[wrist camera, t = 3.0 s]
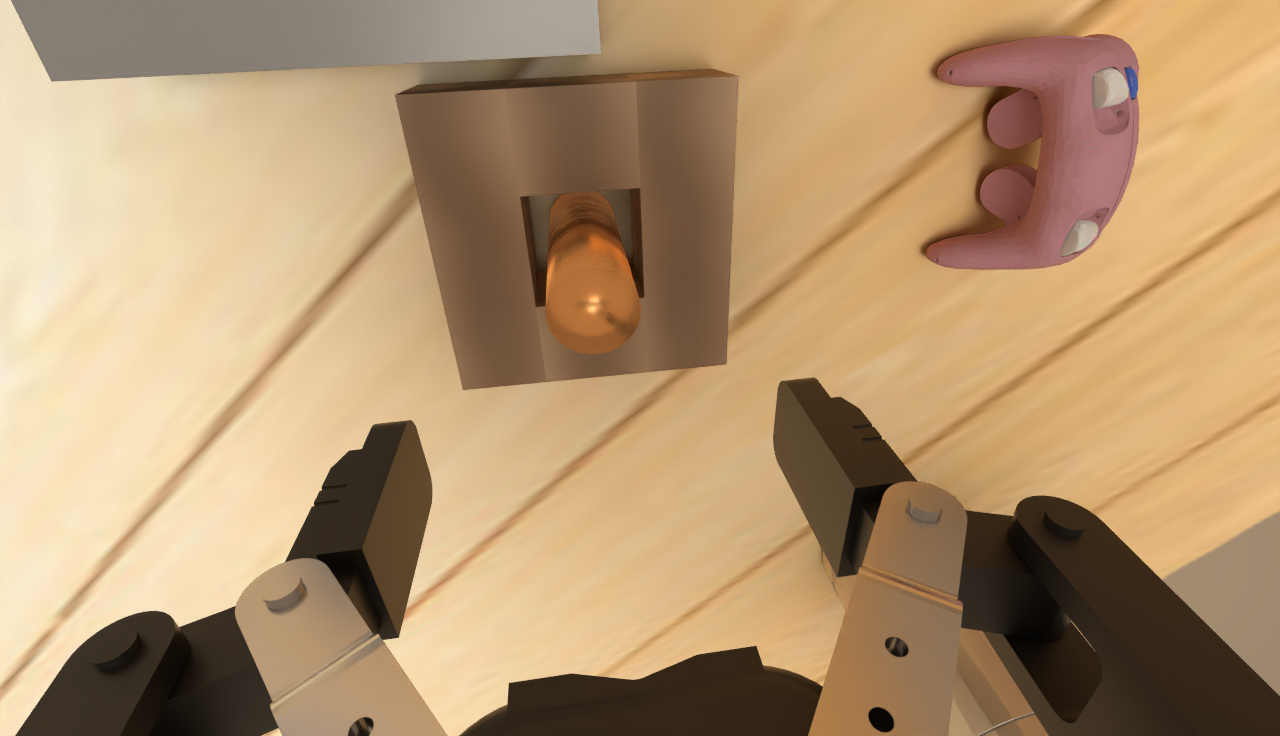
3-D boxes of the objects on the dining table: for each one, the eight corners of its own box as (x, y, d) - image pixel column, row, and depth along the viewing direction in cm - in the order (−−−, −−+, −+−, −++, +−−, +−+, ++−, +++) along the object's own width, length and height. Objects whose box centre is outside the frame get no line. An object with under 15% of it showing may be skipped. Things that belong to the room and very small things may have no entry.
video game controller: (969, 238, 32) (1121, 265, 26) (916, 269, 30) (1068, 305, 24) (990, 32, 26) (1184, 13, 21) (927, 54, 25) (1122, 40, 19)
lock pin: (612, 186, 26) (639, 263, 18) (616, 250, 28) (642, 349, 19) (545, 190, 26) (539, 271, 17) (553, 255, 28) (551, 358, 19)
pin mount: (713, 68, 24) (738, 76, 21) (707, 326, 30) (726, 364, 27) (418, 84, 23) (395, 94, 20) (473, 347, 29) (463, 389, 26)
